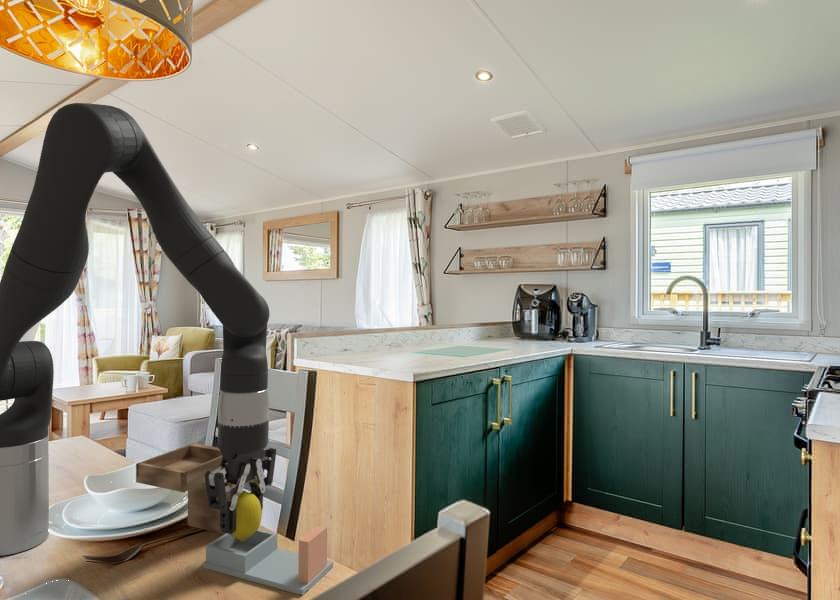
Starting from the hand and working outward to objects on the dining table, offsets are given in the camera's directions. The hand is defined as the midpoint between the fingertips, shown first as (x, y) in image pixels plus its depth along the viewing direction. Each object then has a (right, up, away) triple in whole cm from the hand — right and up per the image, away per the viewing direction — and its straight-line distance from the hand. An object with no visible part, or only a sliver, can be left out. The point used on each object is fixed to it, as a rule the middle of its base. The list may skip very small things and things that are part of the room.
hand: (242, 523), depth 82 cm
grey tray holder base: (+5, -6, -2) cm, 8 cm away
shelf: (-11, -5, +4) cm, 13 cm away
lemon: (0, -3, 0) cm, 3 cm away
